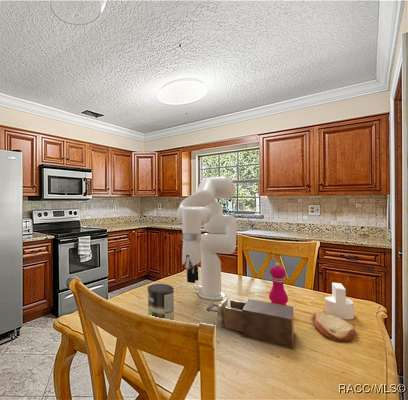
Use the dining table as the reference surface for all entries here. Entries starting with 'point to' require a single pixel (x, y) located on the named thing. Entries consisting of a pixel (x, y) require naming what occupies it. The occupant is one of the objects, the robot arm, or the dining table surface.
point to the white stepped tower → (339, 303)
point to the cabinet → (268, 322)
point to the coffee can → (161, 301)
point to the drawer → (229, 314)
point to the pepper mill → (278, 285)
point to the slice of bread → (334, 327)
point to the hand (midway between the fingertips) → (192, 280)
